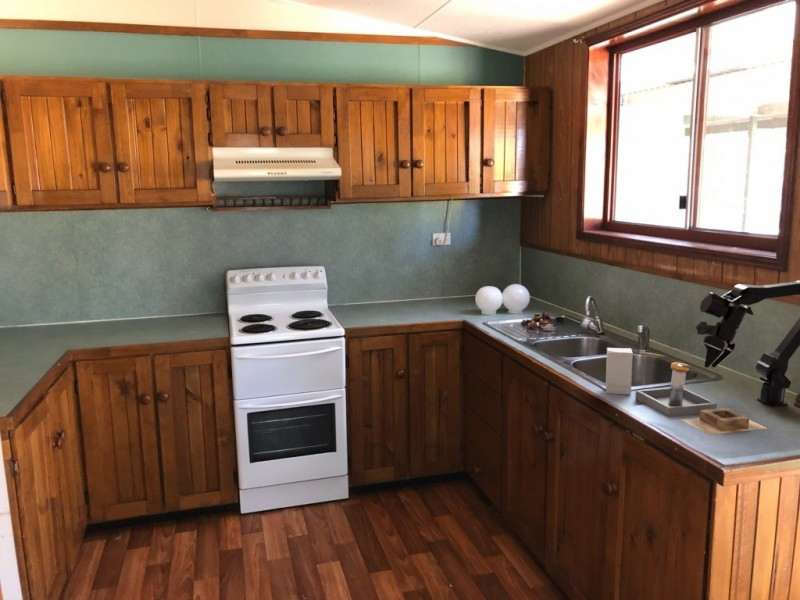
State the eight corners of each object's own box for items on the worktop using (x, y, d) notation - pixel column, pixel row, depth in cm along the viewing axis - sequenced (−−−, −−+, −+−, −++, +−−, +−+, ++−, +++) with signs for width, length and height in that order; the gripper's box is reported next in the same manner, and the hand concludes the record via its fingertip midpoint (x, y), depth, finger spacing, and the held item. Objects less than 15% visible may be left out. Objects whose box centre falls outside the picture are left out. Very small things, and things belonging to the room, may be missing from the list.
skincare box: (629, 390, 230) (632, 348, 227) (631, 395, 224) (634, 352, 221) (604, 388, 232) (606, 346, 229) (604, 393, 226) (607, 350, 223)
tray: (679, 396, 224) (680, 386, 223) (715, 414, 208) (716, 403, 207) (635, 400, 219) (636, 390, 219) (668, 419, 203) (669, 408, 203)
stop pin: (682, 402, 215) (687, 363, 212) (685, 407, 210) (690, 368, 207) (665, 400, 216) (670, 361, 214) (667, 405, 211) (672, 366, 209)
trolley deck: (736, 416, 205) (737, 404, 205) (766, 431, 194) (768, 418, 193) (680, 422, 200) (681, 410, 199) (708, 438, 189) (709, 424, 188)
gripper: (712, 314, 225) (693, 356, 228) (698, 311, 210) (677, 356, 213) (746, 327, 219) (725, 371, 221) (733, 325, 204) (712, 371, 207)
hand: (709, 367), depth 216 cm, fingers open, 9 cm apart
